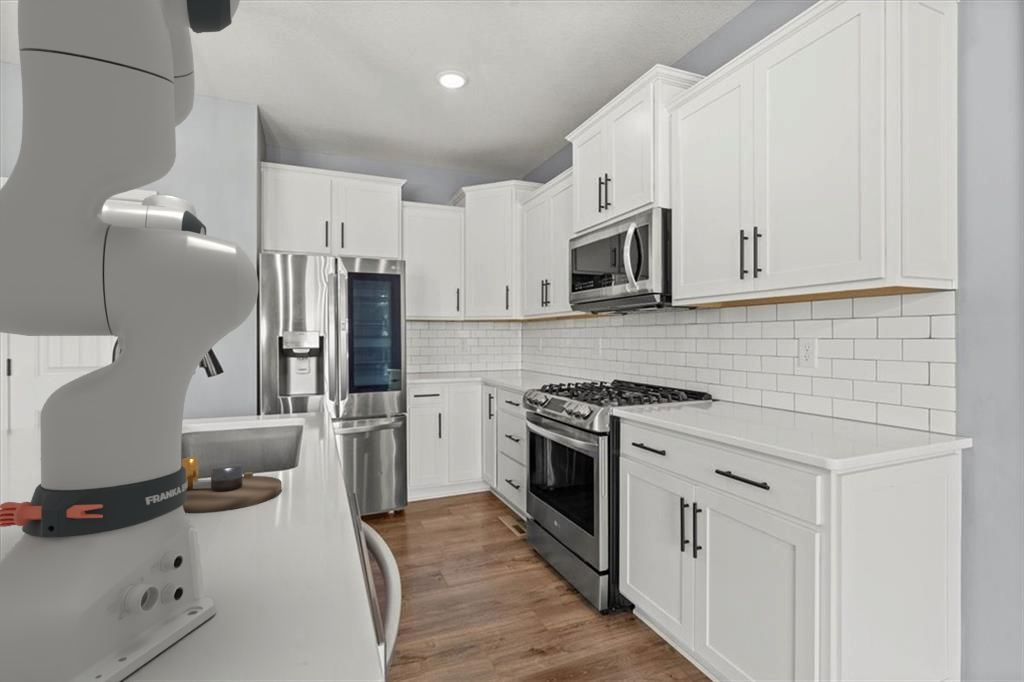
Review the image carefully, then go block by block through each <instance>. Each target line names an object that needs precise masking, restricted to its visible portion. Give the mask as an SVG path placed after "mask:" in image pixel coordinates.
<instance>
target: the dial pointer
mask: <svg viewBox="0 0 1024 682" xmlns="http://www.w3.org/2000/svg"><path fill="white" fill-rule="evenodd" d="M181 465H182V466H183V467H184V468H185V469H186V479H187V480H188V487H187V489H202V488H211V489H212V490H216V491H222V490H230V489H235V488H239V487H241V486H242V485H243V476H244V475H243V464H241V463H227V464H226V463H225V464H219V465H215V466H212V467H210V478H209V479H208V478H207V479H199V458H198V457H197V456H196V457H194V456H192V457H186V458H185V457H184V458H181Z"/></svg>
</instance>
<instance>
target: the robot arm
mask: <svg viewBox="0 0 1024 682" xmlns="http://www.w3.org/2000/svg"><path fill="white" fill-rule="evenodd" d="M240 1H241V0H17V36H18V51H19V62H20V75H21V93H22V127H21V128H22V129H21V142H20V143H21V144H20V149H19V153H18V157H17V160H16V163H15V165H14V167H13V170H12V172H11V173H10V175H9V177H8V178H7V181H6V182H5V183H4V185H3V186H2V187H1V188H0V333H3V334H11V335H18V336H19V335H20V336H27V337H68V336H70V337H72V336H74V337H79V336H80V337H83V336H84V337H92V336H93V337H94V336H95V337H97V336H100V337H101V336H103V337H106V336H107V337H109V336H110V337H112V336H113V337H115V338H116V337H117V344H118V346H119V348H120V349H121V351H120V353H119V355H118V357H117V358H116V359H115V360H114V361H113V362H112V363H110V364H107V365H106V366H103V367H101V368H98V369H95V370H93V371H90V372H89V373H86V374H84V375H81V376H79V377H77V378H74V379H73V380H70V381H69V382H67V383H65V384H63V385H61V386H60V387H58V388H57V389H56V390H54V392H52V393H51V394H50V395H49V396H48V398H47V399H46V401H45V403H44V404H43V406H42V408H41V410H40V415H39V418H40V426H39V427H40V429H39V430H40V484H38V485H37V486H36V488H35V489H34V492H33V494H32V497H31V500H30V501H23V502H16V501H15V502H14V501H13V502H12V501H6V502H3V503H1V504H0V528H3V527H4V528H6V527H11V526H17V527H21V531H22V532H23V535H22V537H20V539H19V540H18V541H17V543H16V544H15V545H13V547H12V548H11V549H10V550H9V551H8V552H7V553H6V555H5V556H3V558H2V559H1V560H0V682H121V681H122V680H123V679H125V678H127V677H128V676H129V675H131V674H132V673H134V672H135V671H137V670H138V669H140V668H141V667H143V666H144V665H145V664H146V663H148V662H149V661H150V660H152V659H153V658H155V657H156V656H157V655H159V654H161V653H162V652H163V651H165V650H167V648H169V647H171V646H172V645H173V644H175V643H176V642H178V641H179V640H181V639H182V638H183V637H185V636H186V635H188V633H190V632H191V631H193V630H195V629H196V628H197V627H199V626H200V625H202V624H203V623H204V622H206V621H207V620H209V619H210V618H212V617H213V616H214V615H215V614H216V612H217V610H216V608H217V607H216V602H215V600H214V599H212V598H210V597H209V596H207V595H205V588H204V578H203V569H202V560H201V553H200V543H199V534H198V531H197V529H196V528H195V526H194V525H192V523H191V521H190V520H189V518H188V516H187V514H186V512H185V511H184V509H183V504H184V503H185V502H186V500H187V487H188V480H187V479H186V469H185V468H184V467H183V466H182V434H183V432H182V431H183V419H184V410H185V409H184V408H185V401H186V395H187V392H188V389H189V385H190V383H191V380H192V378H193V376H194V375H195V374H196V370H197V368H198V366H200V363H201V362H202V360H203V359H204V358H205V357H206V356H207V354H208V353H209V352H210V350H212V348H213V347H214V346H216V344H218V343H219V342H220V341H221V340H222V339H223V338H225V337H226V336H227V335H228V334H230V333H231V332H233V331H235V330H236V329H237V328H239V327H240V326H242V324H243V323H244V322H245V321H247V319H248V318H249V316H251V313H252V312H253V309H254V308H255V305H256V303H257V299H258V295H259V280H258V279H259V278H258V274H257V271H256V268H255V266H254V263H253V262H252V259H251V258H250V257H249V256H248V254H247V253H246V251H245V250H244V249H243V248H242V247H241V246H240V245H239V244H237V243H236V242H234V241H229V240H227V239H222V238H219V237H214V236H210V235H207V227H206V226H205V224H203V222H202V221H201V220H200V219H198V217H197V212H196V209H195V206H194V205H193V203H192V202H190V201H189V200H187V199H185V198H182V197H180V196H179V197H178V196H175V195H171V194H153V195H148V196H147V197H145V198H143V200H142V202H141V204H130V203H122V202H113V201H112V202H111V201H107V200H109V199H110V198H112V197H114V196H116V195H119V194H122V193H127V192H130V191H133V190H137V189H140V188H141V187H142V188H143V187H145V186H148V185H151V184H153V183H155V182H157V181H160V179H163V178H164V177H165V176H167V175H168V174H169V172H170V171H171V170H172V168H173V166H174V164H175V162H176V156H177V148H176V147H177V145H176V143H177V141H176V140H177V139H176V137H177V136H176V127H177V126H180V125H181V124H182V123H183V122H184V121H185V120H186V119H187V118H188V117H189V115H190V114H191V112H192V110H193V107H194V100H195V65H194V55H193V54H194V53H193V52H194V51H193V44H192V37H191V32H190V29H191V31H192V32H193V33H196V34H203V33H218V32H221V31H222V30H224V29H225V28H228V27H229V26H230V25H232V22H233V21H232V20H233V17H234V16H235V14H236V12H237V10H238V7H239V5H240Z"/></svg>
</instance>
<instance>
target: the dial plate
mask: <svg viewBox="0 0 1024 682" xmlns="http://www.w3.org/2000/svg"><path fill="white" fill-rule="evenodd" d="M242 476H243V485H242V486H241V487H239V488H235V489H230V490H222V491H216V490H212V489H211V488H202V489H187V500H186V502H185V503H184V504H183V509H184V511H185V513H189V514H190V513H195V514H196V513H197V514H199V513H213V512H223V511H230V510H231V511H232V510H236V509H241V508H247V507H250V506H255V505H257V504H261V503H264V502H267V501H271V500H272V499H275V498H276V497H277V496H279V495H280V494H281V493H282V490H283V489H282V486H283V485H282V483H283V482H282V481H281V480H280V479H279V478H276V477H273V476H267V475H264V476H263V475H254V472H244V473H243V475H242Z"/></svg>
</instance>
